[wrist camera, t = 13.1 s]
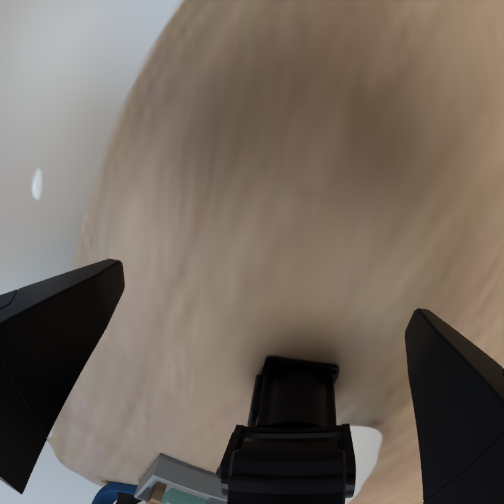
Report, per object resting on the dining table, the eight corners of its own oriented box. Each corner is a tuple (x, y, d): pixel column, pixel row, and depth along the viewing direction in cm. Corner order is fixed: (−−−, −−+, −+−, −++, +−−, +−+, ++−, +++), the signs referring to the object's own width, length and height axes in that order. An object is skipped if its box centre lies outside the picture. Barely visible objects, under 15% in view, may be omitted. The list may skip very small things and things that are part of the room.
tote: (160, 453, 38) (153, 474, 34) (240, 481, 39) (236, 502, 35) (139, 481, 46) (133, 496, 43) (199, 503, 48) (195, 519, 44)
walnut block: (157, 481, 43) (151, 498, 39) (199, 495, 44) (194, 513, 40) (151, 487, 45) (145, 503, 42) (189, 501, 46) (185, 517, 43)
